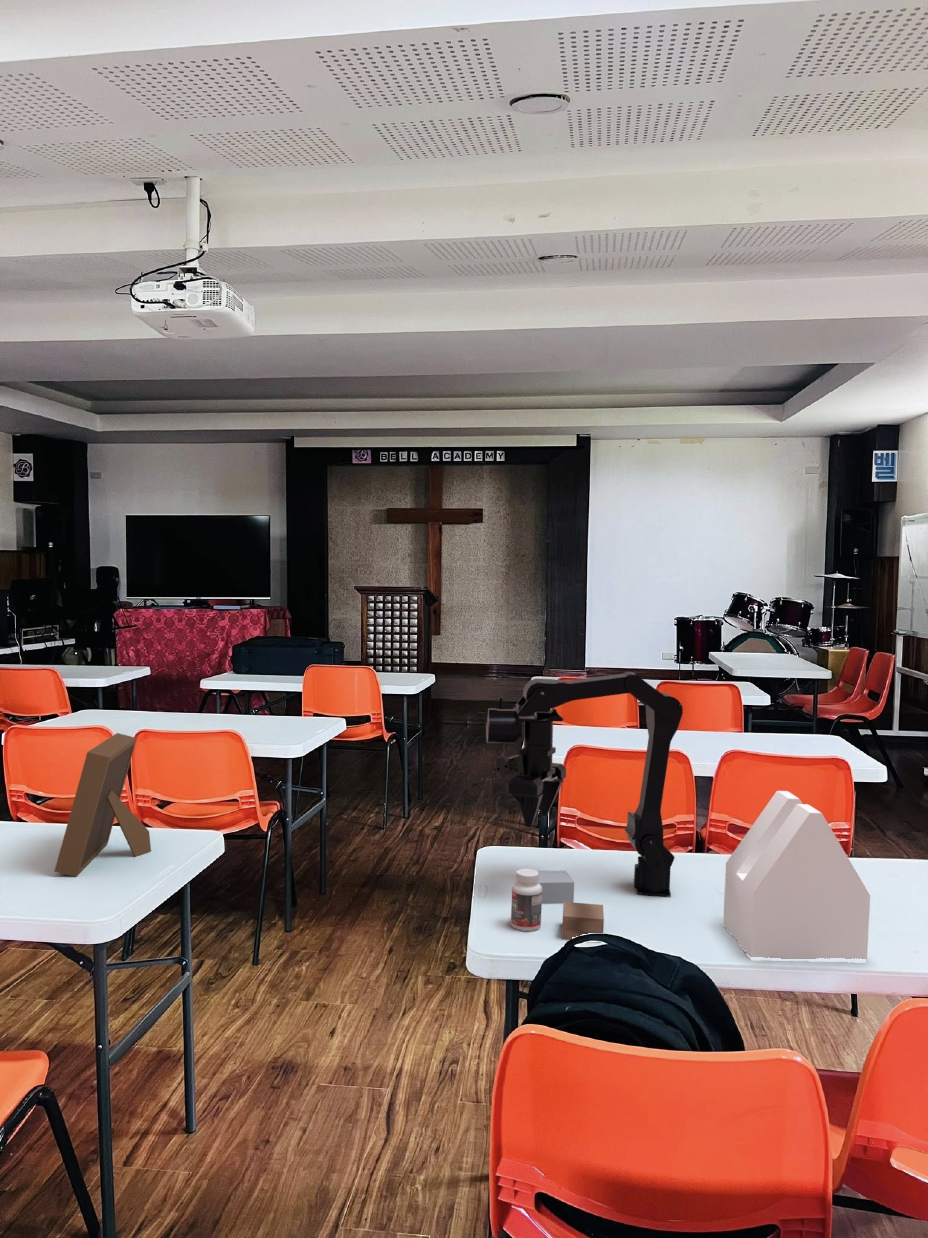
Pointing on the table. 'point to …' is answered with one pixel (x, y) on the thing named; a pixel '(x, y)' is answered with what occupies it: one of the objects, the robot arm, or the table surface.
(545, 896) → the grey block
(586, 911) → the walnut block
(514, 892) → the pill bottle
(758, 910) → the pinkish house shaped block
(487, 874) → the table surface
